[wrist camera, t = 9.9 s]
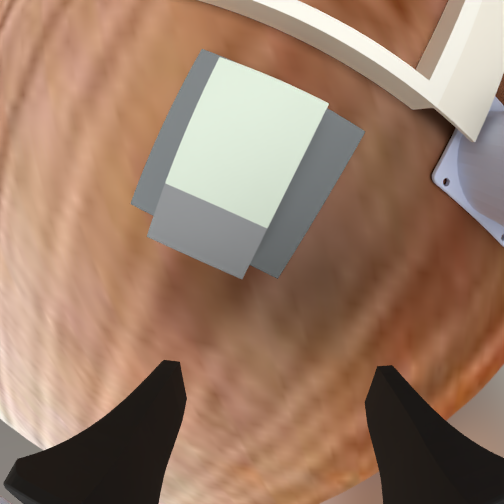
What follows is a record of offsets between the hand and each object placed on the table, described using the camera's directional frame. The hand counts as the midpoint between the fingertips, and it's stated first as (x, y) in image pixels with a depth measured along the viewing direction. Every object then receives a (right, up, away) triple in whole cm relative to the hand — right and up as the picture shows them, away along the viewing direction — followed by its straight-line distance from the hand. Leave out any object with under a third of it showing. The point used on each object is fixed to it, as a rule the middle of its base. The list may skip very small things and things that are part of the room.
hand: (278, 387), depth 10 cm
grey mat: (-2, +10, +6) cm, 12 cm away
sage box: (-1, +10, +6) cm, 12 cm away
